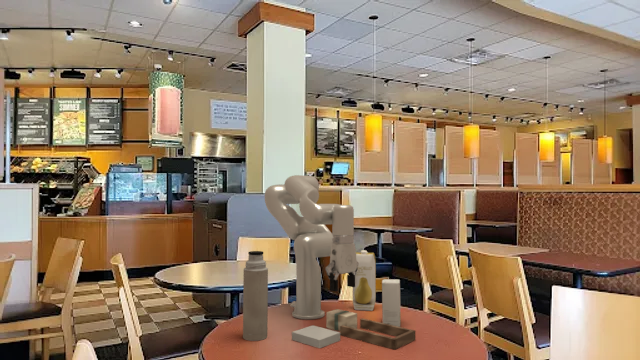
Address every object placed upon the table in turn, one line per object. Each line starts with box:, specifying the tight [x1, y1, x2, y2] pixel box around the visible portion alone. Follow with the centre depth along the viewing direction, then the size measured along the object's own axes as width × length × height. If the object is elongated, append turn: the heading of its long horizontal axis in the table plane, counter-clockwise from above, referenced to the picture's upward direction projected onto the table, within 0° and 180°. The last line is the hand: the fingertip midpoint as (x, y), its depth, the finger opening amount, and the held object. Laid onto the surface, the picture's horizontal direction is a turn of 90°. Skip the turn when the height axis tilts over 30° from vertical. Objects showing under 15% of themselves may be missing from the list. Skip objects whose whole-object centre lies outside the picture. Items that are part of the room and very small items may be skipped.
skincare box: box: [381, 278, 401, 327], centre depth 161 cm, size 8×7×16 cm
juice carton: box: [352, 249, 377, 312], centre depth 183 cm, size 9×8×24 cm
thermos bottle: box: [242, 250, 269, 342], centre depth 146 cm, size 8×8×28 cm
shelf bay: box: [339, 318, 416, 350], centre depth 145 cm, size 21×12×3 cm, turn 48°
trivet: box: [291, 325, 341, 349], centre depth 142 cm, size 12×10×2 cm
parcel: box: [325, 308, 358, 332], centre depth 155 cm, size 9×6×6 cm
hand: (342, 288), depth 155 cm, fingers open, 9 cm apart
